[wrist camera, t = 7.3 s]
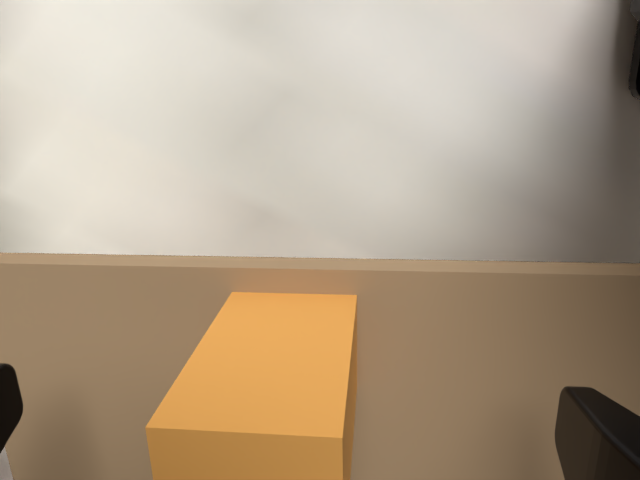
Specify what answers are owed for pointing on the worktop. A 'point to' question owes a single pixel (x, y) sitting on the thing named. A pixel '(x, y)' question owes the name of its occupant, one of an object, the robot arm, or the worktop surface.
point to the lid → (307, 364)
